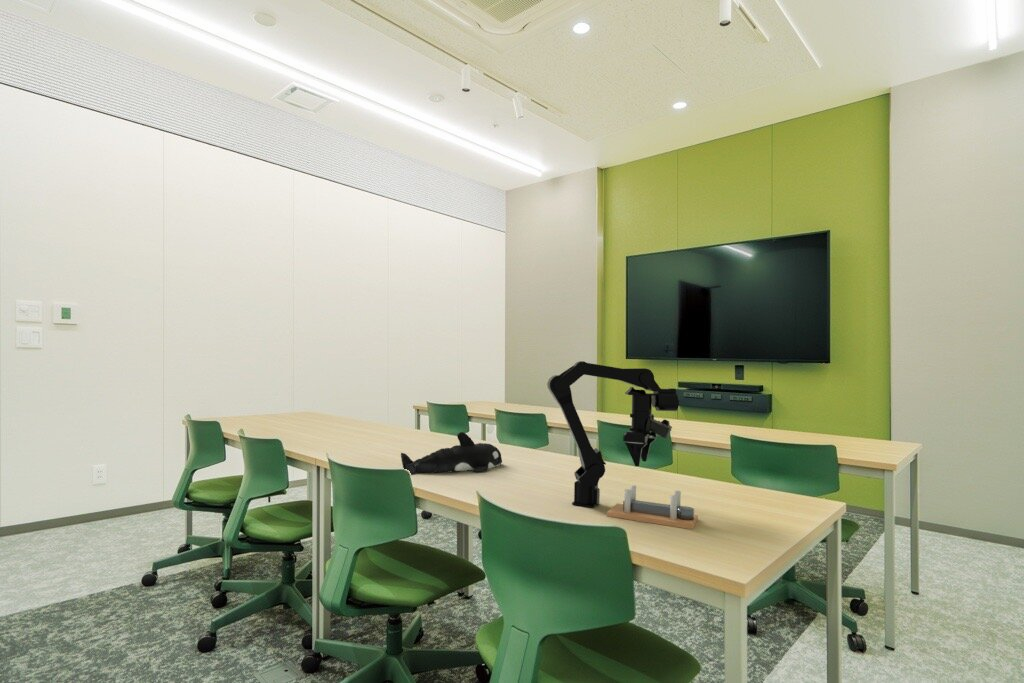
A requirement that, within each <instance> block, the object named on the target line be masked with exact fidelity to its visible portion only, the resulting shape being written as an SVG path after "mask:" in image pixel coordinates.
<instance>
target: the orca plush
mask: <svg viewBox="0 0 1024 683" xmlns="http://www.w3.org/2000/svg"><path fill="white" fill-rule="evenodd" d="M456 437H457V439H458V442H459V445H457V444H455V445H453V446H452V447H445V448H440V449H438V450H435V451H434V452H431V453H430V454H428V455H424V456H423V457H421V458H418V459H416V460H412V459H411V458H410V457H409V455H408V454H406V453H404V452H400V458H401V459H400V460H401V464H402V468H404V469H407V470H409V471H410V473H411V475H410V476H412V475H415V474H432V472H435V473H449V472H448V471H452V472H451V473H458V472H457V471H460V472H468V471H467V470H472V471H473V472H475V473H481V472H482V471H485V472H488V471H487V470H489V469H492V468H491V467H493V468H495V467H494V466H497V467H499V466H501V465H502V463H503V459H502V458H503V457H502V453H501V451H500V450H499V448H497V447H496V446H495V445H493V444H491V443H483V442H479V443H475V442H474V441H473V439H472V438H471V437H470V436H469V435H468V434H467V433H465V432H464V431H460V432H459V433H457V436H456ZM500 464H501V465H500ZM498 465H499V466H498ZM488 468H489V469H488ZM404 469H403V470H404ZM482 473H483V472H482Z"/></svg>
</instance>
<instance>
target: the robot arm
mask: <svg viewBox="0 0 1024 683" xmlns="http://www.w3.org/2000/svg"><path fill="white" fill-rule="evenodd" d="M582 376H591V377H597V378H603V379H609V380H615V381H620V382H622V383H626V384H627V385H631V386H630V387H629V388H628V389H627V390H626V391H625V392H624V394H625V395H626V396H627V395H628V396H631V413H630V414H629V418H631V427H630V428H629V430H627V431H625V433H623V437H622V442H624V444H625V446H626V447H627V450H628V452H629V455H630V457H631V459H632V462H633V464H634V467H639V466H640V463H641V460H642V462H644V463H645V462H647V460H648V456H649V453H650V448H651V446H652V443H654V442H655V441H656V440H657V439H658V437H659V436H660V437H662V438H664V439H667V438H669V435H670V433H671V431H672V429H673V427H672V426H671V425H670V421H669V420H667V419H662V421H660V420H657V419H655V415H654V413H652V410H653V409H652V408H655V411H657V412H678V410H679V405H680V400H679V397H678V393H677V389H676V388H673V387H672V388H671V387H670V388H661V387H660V386H659V383H657V382H656V379H655V374H654V373H653V371H652V370H651V369H649V368H646V367H645V368H642V367H641V368H640V367H639V368H637V367H636V368H633V367H632V368H631V367H630V368H621V367H616V366H609V365H604V364H597V363H589V362H586V361H584V360H583V361H576V362H575V363H574V364H573V365H572V366H571V367H569V368H568V369H566V370H564V371H562V372H561V373H560V374H558V375H557V374H556V375H552V376H550V377H549V378H548V381H547V383H546V385H547V389H548V390H549V393H550V394H551V395H552V397H553V399H554V400H555V401H556V403H557V404H558V406H559V407H560V410H561V412H562V415H563V417H564V419H565V422H566V424H567V426H568V428H569V432H571V436H572V438H573V440H574V442H575V444H576V447H577V450H578V455H579V461H580V462H579V463H580V466H579V468H578V469H576V471H574V473H573V474H574V477H575V480H576V481H574V489H573V490H574V491H573V493H574V494H573V501H572V502H571V504H572V505H575V506H582V507H588V508H594V507H596V506H598V505H599V504H600V493H601V490H600V488H599V481H600V479H601V478H603V476H605V472H606V466H605V465H607V463H606V461H604V459H603V455H602V452H601V450H599V449H598V448H596V447H595V448H593V446H592V445H591V444H592V443H591V442H590V440H589V438H588V435H587V433H586V431H585V428H584V425H583V423H582V421H581V418H580V416H579V414H578V412H577V409H576V407H575V404H574V402H573V394H572V390H571V386H572V385H573V384H575V383H576V382H577V381H578V380H579V379H580V378H582ZM634 387H635V388H642V389H635V388H634ZM646 391H648V392H651V393H648V392H646Z"/></svg>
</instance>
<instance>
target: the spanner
mask: <svg viewBox="0 0 1024 683" xmlns="http://www.w3.org/2000/svg"><path fill="white" fill-rule="evenodd" d="M622 502H623V503H622V504H623V511H624V500H623V501H622ZM630 512H637V513H644V514H651V515H658V516H664V517H670V504H667V503H660V502H651V501H646V500H645V501H644V500H638V499H636V500H631V506H630ZM694 514H695V509H694V508H693V507H692V506H691V507H690V506H688V505H680V506H677V518H678V519H681V520H694Z"/></svg>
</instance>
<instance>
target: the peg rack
mask: <svg viewBox="0 0 1024 683" xmlns="http://www.w3.org/2000/svg"><path fill="white" fill-rule="evenodd" d="M673 493H674V494H672V495H670V498H669V499H670V500H669V501H670V502H669V503H670V504H669V505H670V517H664V516H658V515H651V514H644V513H637V512H630V506H631V500H637V485H636V484H630V487H629V489H624V500H623V501H624V511H623V503H618V502H617V503H615V505H613V506H612V507H611V508H610V509H608V510H607V511H606V516H607V517H610V518H615V519H616V518H617V519H625V520H630V521H635V522H637V521H638V522H644V523H649V524H657V525H662V526H669V527H675V528H683V529H689V530H693V529H694V527H695V526H696V523H697V521H698V519H699V518H698V517H699V515H698V514H695V513H694V520H681V519H678V518H677V506H682V505H681V503H682V502H681V500H682V498H681V494H682V491H681V490H674V492H673Z"/></svg>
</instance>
